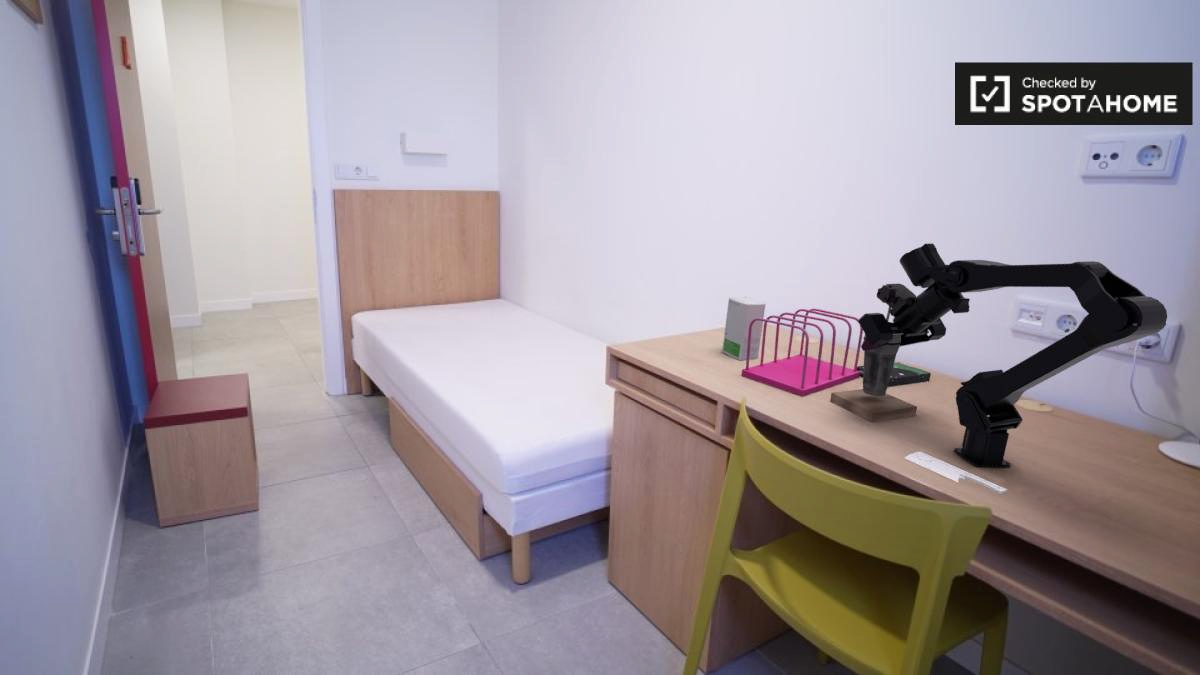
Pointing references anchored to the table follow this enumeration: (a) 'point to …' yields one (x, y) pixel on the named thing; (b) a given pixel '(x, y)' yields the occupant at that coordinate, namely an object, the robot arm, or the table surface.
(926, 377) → the disk drive
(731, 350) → the skincare box
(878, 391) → the beverage cup
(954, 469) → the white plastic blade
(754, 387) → the table surface
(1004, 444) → the robot arm
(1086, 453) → the table surface
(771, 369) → the file sorter
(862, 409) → the walnut plinth
